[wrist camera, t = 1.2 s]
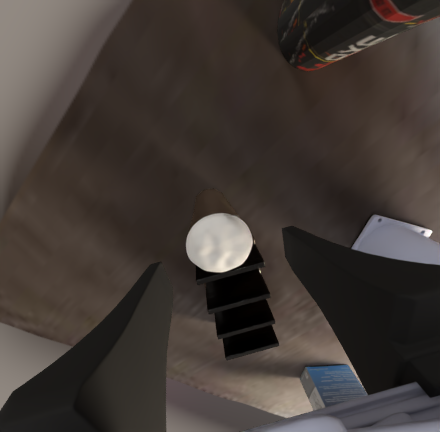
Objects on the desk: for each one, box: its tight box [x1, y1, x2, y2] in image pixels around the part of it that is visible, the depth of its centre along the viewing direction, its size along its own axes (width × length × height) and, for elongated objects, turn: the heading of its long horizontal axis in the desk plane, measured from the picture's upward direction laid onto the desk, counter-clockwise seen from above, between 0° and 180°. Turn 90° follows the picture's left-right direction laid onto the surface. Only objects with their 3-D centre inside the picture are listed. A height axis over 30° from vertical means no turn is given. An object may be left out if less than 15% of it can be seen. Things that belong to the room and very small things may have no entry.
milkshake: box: [186, 188, 253, 272], centre depth 17 cm, size 4×5×10 cm
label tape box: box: [300, 365, 368, 411], centre depth 32 cm, size 9×4×12 cm, turn 81°
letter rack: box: [196, 236, 279, 360], centre depth 24 cm, size 13×7×5 cm, turn 13°
